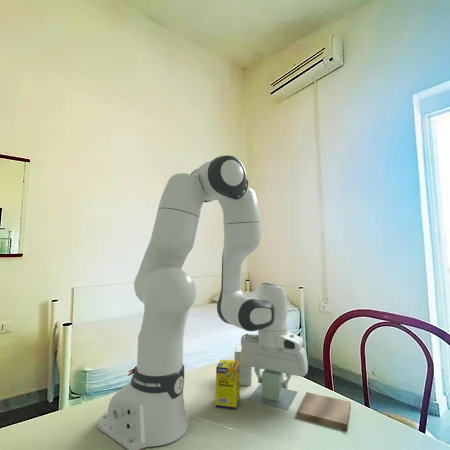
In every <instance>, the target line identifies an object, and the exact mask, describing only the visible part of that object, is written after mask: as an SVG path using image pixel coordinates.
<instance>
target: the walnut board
mask: <svg viewBox="0 0 450 450" xmlns="http://www.w3.org/2000/svg"><path fill="white" fill-rule="evenodd" d="M351 404H352V403H351V401H349V400H345V399H339V398H335V397H331V396H330V397H329V396H326V395H322V394H316V393H312V392H306V393H305V395H304V397H303V399H302V400H301V403H300V405H299V407H298V409H297V412H296V417H297V418H299V419H303V420H307V421H311V422H315V423H317V424H322V425H327V426H330V427H333V428H338V429H341V430H343V431H348V429H349V421H350V413H351Z"/></svg>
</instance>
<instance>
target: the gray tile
mask: <svg viewBox="0 0 450 450" xmlns="http://www.w3.org/2000/svg"><path fill="white" fill-rule="evenodd" d="M298 392H299V391H296V390H292V389H284V394H283V396H282V397H281V399H280V400H279V401H275V400H271V399H267V398H263V397H262V383H259V385H258V386H257V387H256V388H255V390H254V391H253V392H252V393H251V394H250V395H249V397H248V398H247V399H246V401H250V402H251V403H257V404H260V405H264V406H268V407H272V408H277V409H279V410H283V411H284V410H285V411H289V409H290V407H291V406H292V404H293V402H294V400H295V398H296V397H297V394H298Z"/></svg>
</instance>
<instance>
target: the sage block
mask: <svg viewBox="0 0 450 450" xmlns="http://www.w3.org/2000/svg"><path fill="white" fill-rule="evenodd" d="M261 374H262V383H261V384H262V397H263V398H267V399H271V400H275V401H279V400H280V399H281V397H282V396H283V394H284V388H282V381H283V380H284V373H281V372H275V371H270V370H265V369H263V371H261Z"/></svg>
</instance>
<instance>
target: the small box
mask: <svg viewBox="0 0 450 450" xmlns="http://www.w3.org/2000/svg"><path fill="white" fill-rule="evenodd" d="M241 348H242V346H241V343H237V344H236V347H235V349H234V361H240V356H241ZM252 380H253V367H250V366H245V365H242V363H241V362H240V386H252Z"/></svg>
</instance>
